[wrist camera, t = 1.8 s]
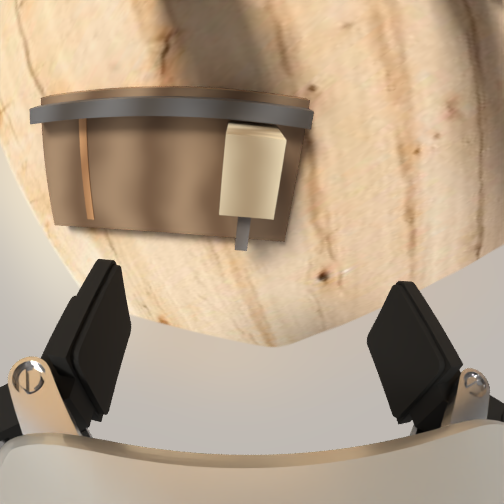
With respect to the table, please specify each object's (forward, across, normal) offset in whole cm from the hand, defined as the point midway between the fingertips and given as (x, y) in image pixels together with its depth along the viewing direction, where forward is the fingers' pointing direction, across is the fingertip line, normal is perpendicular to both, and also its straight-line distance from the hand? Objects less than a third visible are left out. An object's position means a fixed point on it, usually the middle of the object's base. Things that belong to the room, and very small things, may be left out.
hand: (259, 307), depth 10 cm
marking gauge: (+19, 0, +2) cm, 19 cm away
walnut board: (+21, +8, +1) cm, 22 cm away
